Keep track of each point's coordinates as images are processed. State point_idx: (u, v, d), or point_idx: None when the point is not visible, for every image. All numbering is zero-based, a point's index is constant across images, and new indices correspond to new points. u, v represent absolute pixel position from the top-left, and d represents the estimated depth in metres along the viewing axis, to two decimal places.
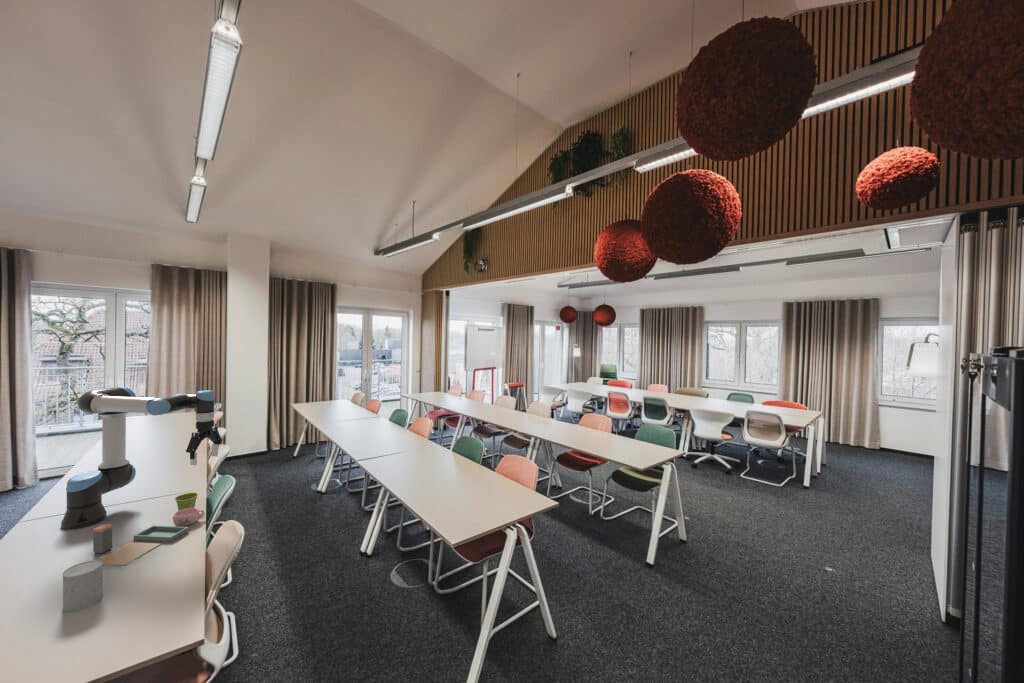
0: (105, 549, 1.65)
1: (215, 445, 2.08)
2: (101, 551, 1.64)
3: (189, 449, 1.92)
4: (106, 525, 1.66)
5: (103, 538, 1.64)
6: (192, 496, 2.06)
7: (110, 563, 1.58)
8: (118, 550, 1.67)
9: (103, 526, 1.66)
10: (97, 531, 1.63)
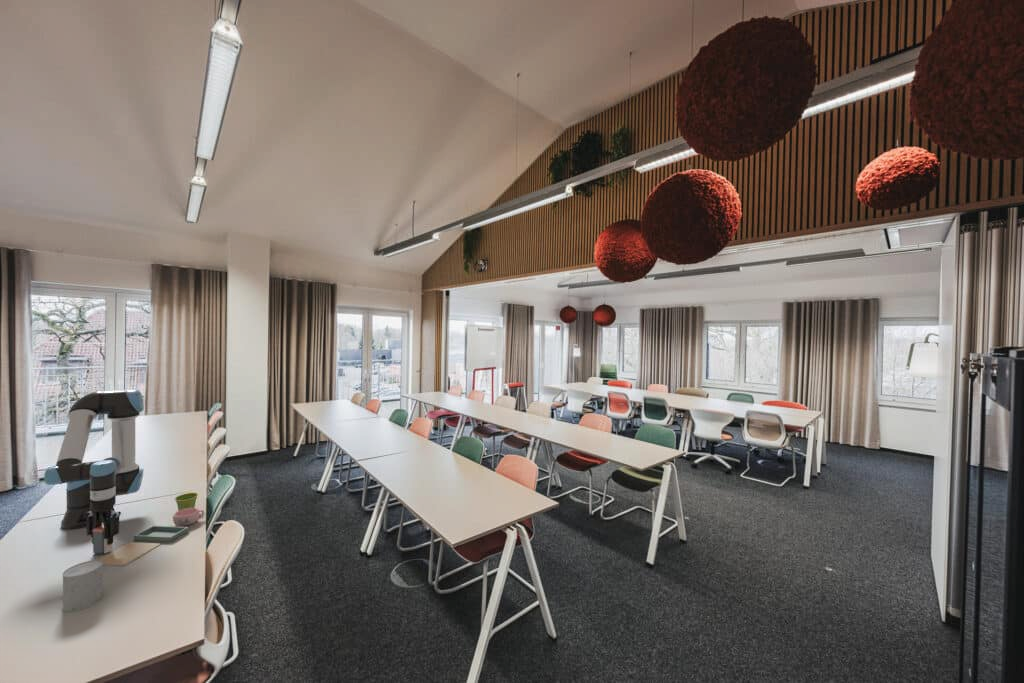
0: None
1: None
2: (101, 551, 1.64)
3: None
4: None
5: (103, 538, 1.64)
6: (192, 496, 2.06)
7: (110, 563, 1.58)
8: (118, 550, 1.67)
9: (103, 526, 1.66)
10: (97, 531, 1.63)
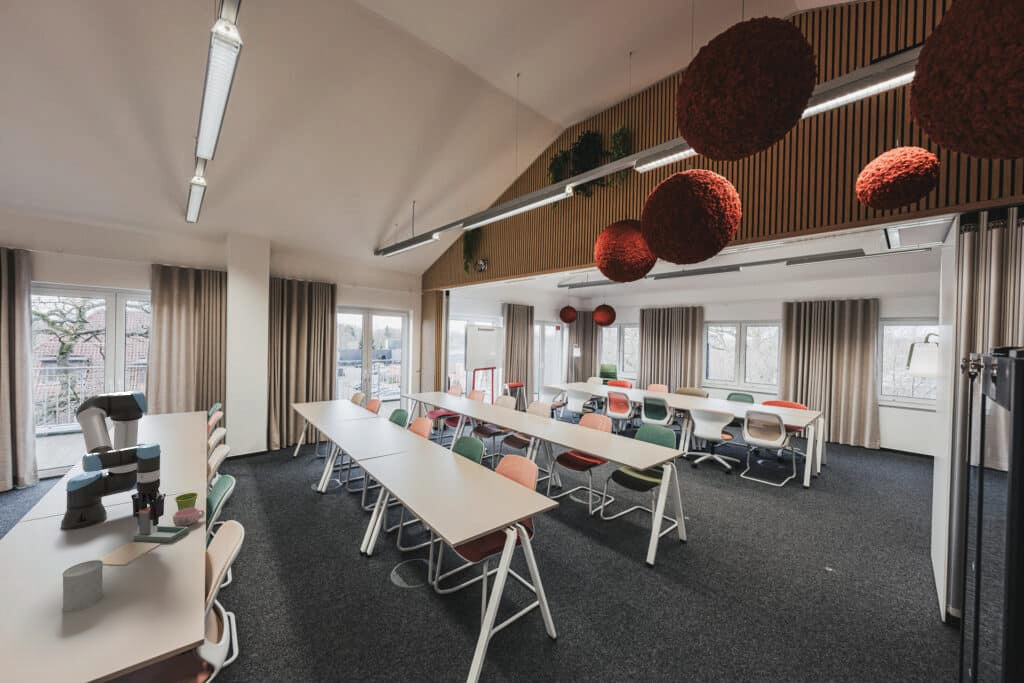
0: None
1: None
2: (147, 532, 1.68)
3: None
4: None
5: (149, 519, 1.68)
6: (192, 496, 2.06)
7: (110, 563, 1.58)
8: (118, 550, 1.67)
9: (148, 508, 1.70)
10: (143, 513, 1.68)
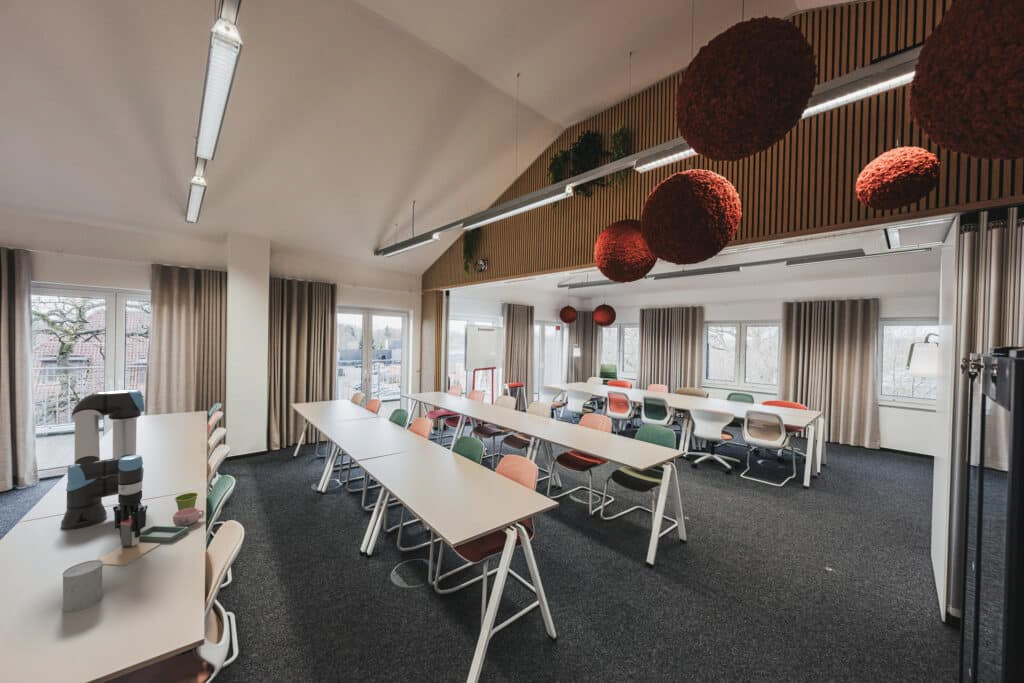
0: None
1: None
2: (129, 544, 1.68)
3: None
4: None
5: (130, 531, 1.68)
6: (192, 496, 2.06)
7: (110, 563, 1.58)
8: (118, 550, 1.67)
9: (130, 519, 1.70)
10: (125, 524, 1.68)
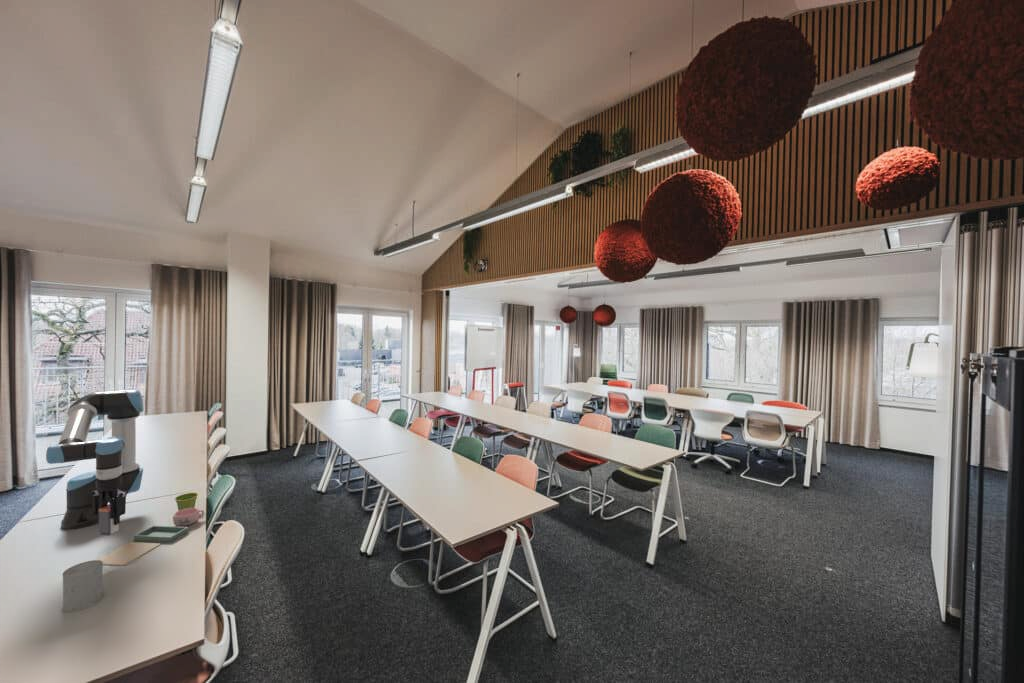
0: None
1: None
2: (107, 531, 1.59)
3: None
4: None
5: (109, 518, 1.59)
6: (192, 496, 2.06)
7: (110, 563, 1.58)
8: (118, 550, 1.67)
9: (109, 506, 1.61)
10: (103, 511, 1.59)
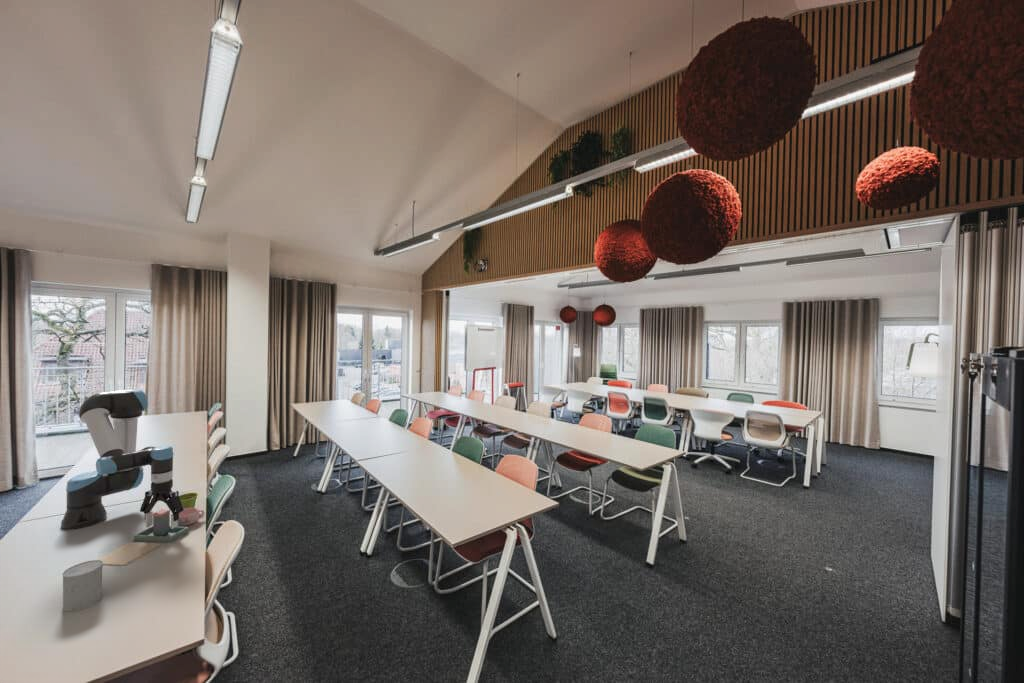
0: (164, 532, 1.78)
1: None
2: (160, 534, 1.77)
3: None
4: (164, 510, 1.80)
5: (162, 522, 1.77)
6: (192, 496, 2.06)
7: (110, 563, 1.58)
8: (118, 550, 1.67)
9: (161, 511, 1.79)
10: (157, 516, 1.77)
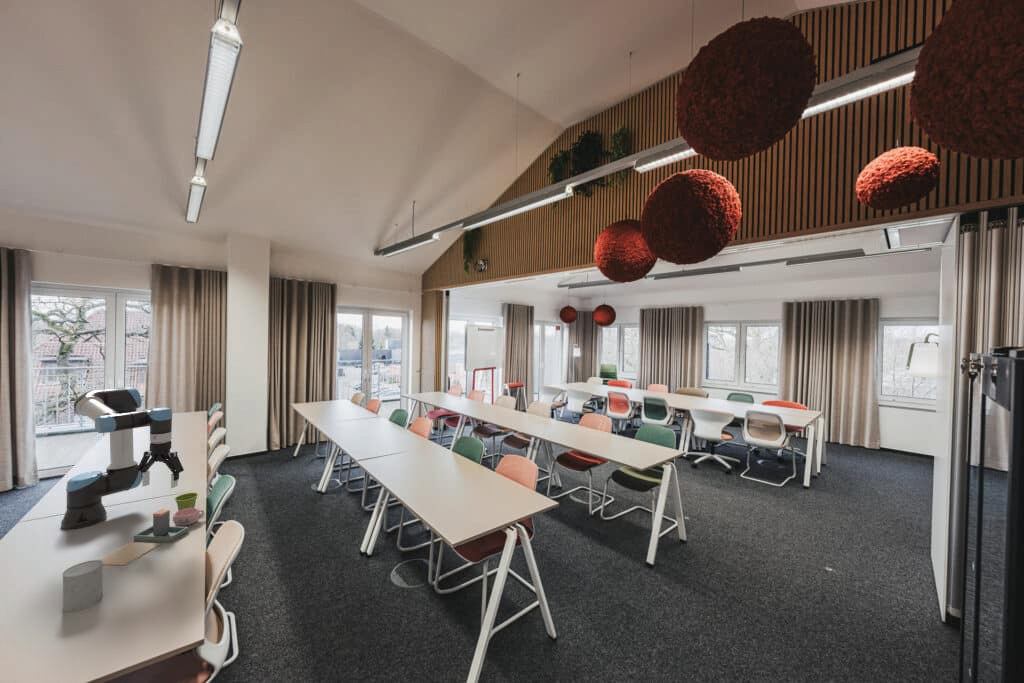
0: (164, 532, 1.78)
1: None
2: (160, 534, 1.77)
3: None
4: (164, 510, 1.80)
5: (162, 522, 1.77)
6: (192, 496, 2.06)
7: (110, 563, 1.58)
8: (118, 550, 1.67)
9: (161, 511, 1.79)
10: (157, 516, 1.77)
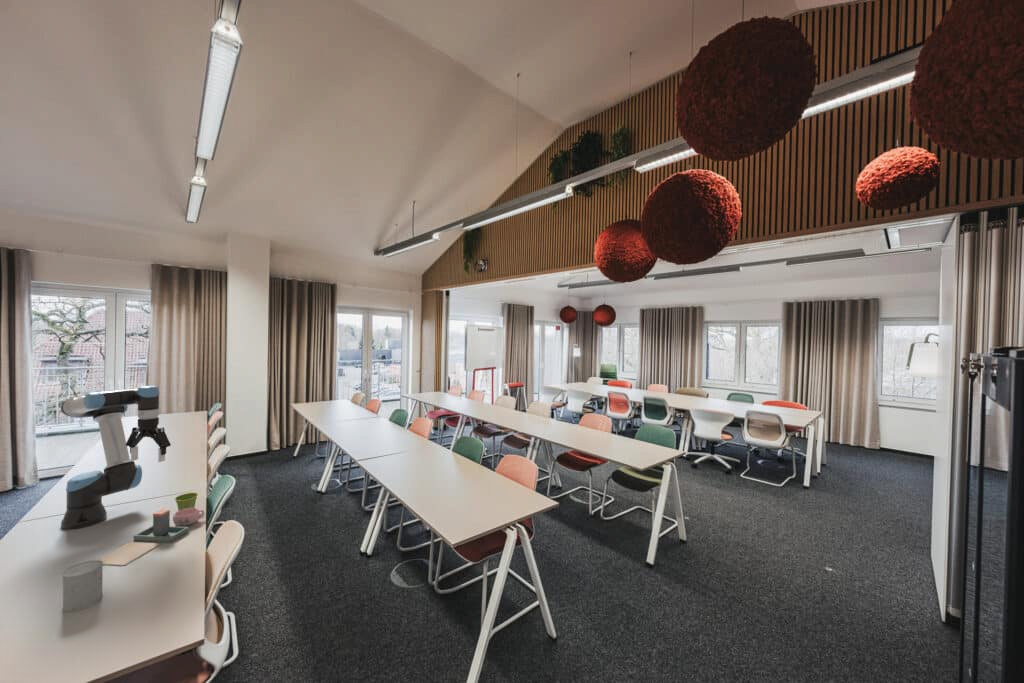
0: (164, 532, 1.78)
1: None
2: (160, 534, 1.77)
3: None
4: (164, 510, 1.80)
5: (162, 522, 1.77)
6: (192, 496, 2.06)
7: (110, 563, 1.58)
8: (118, 550, 1.67)
9: (161, 511, 1.79)
10: (157, 516, 1.77)
